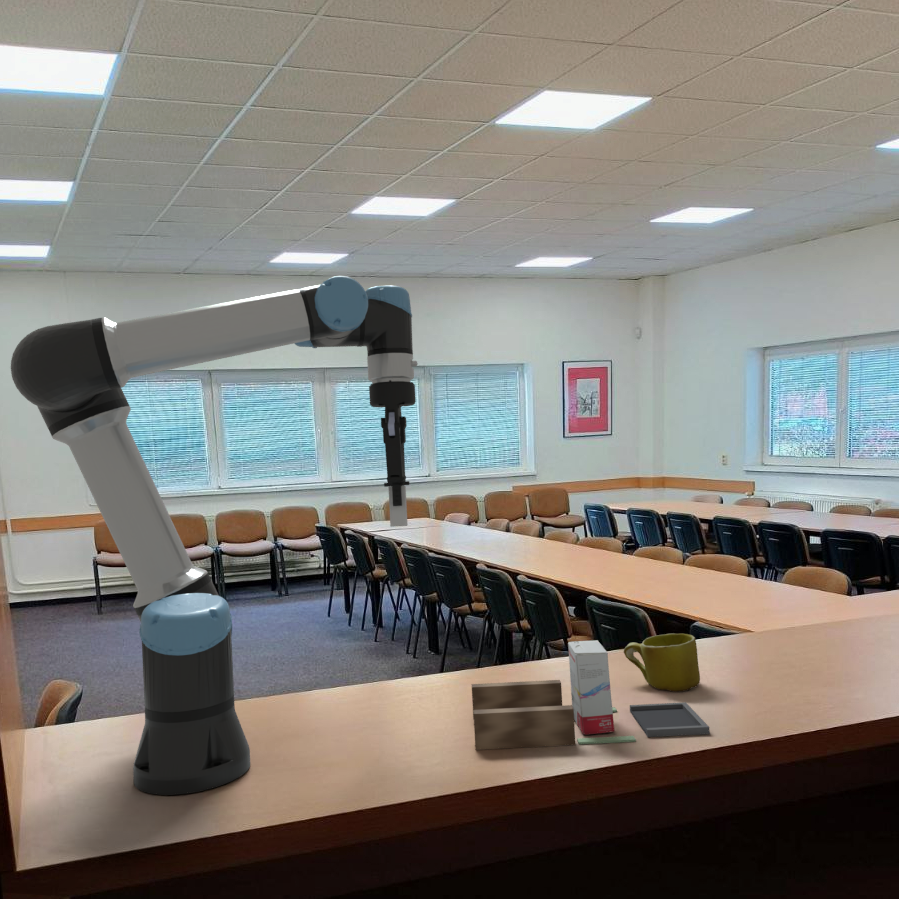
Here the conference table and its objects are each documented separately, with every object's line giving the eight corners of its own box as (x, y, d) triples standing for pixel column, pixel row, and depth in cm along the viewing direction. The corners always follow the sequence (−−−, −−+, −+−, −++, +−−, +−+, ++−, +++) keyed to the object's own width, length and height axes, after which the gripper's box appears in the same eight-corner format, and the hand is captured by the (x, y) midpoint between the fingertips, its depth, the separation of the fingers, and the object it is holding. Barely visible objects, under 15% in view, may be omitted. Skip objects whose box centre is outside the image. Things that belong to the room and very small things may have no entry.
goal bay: (578, 744, 112) (578, 742, 112) (564, 711, 127) (564, 709, 127) (635, 741, 112) (635, 739, 112) (615, 709, 127) (614, 707, 127)
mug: (715, 668, 140) (696, 618, 139) (701, 702, 132) (680, 649, 131) (651, 674, 147) (632, 626, 146) (633, 706, 139) (613, 656, 138)
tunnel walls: (475, 749, 112) (473, 713, 112) (473, 715, 127) (471, 684, 127) (575, 744, 112) (573, 709, 112) (561, 711, 127) (559, 679, 127)
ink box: (615, 734, 116) (610, 652, 116) (580, 736, 116) (575, 654, 116) (603, 715, 124) (599, 638, 125) (570, 716, 124) (566, 640, 125)
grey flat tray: (647, 737, 114) (647, 729, 114) (629, 711, 125) (629, 705, 125) (709, 734, 114) (709, 726, 114) (686, 708, 125) (685, 702, 125)
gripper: (412, 376, 125) (420, 528, 125) (416, 384, 138) (423, 521, 138) (364, 379, 125) (372, 530, 125) (373, 387, 138) (379, 523, 138)
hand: (399, 525), depth 131 cm, fingers closed
